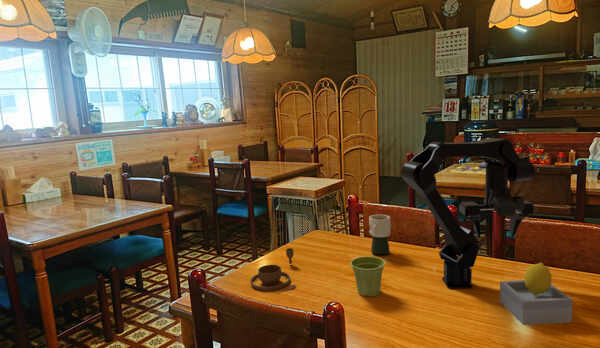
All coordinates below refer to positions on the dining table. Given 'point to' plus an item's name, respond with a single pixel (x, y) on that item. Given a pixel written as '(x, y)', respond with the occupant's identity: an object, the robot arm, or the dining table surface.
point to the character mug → (379, 233)
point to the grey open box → (535, 304)
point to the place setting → (273, 275)
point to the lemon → (538, 279)
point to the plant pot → (368, 274)
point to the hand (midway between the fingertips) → (495, 237)
